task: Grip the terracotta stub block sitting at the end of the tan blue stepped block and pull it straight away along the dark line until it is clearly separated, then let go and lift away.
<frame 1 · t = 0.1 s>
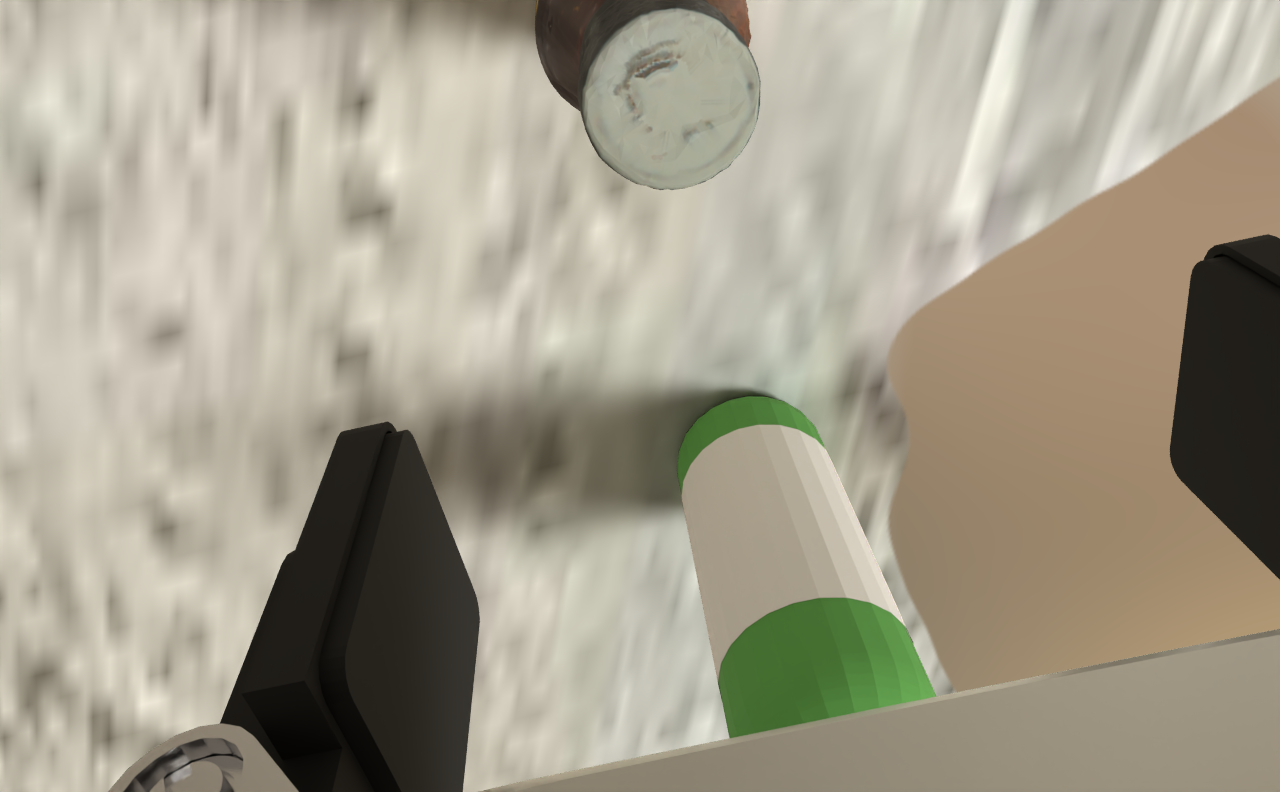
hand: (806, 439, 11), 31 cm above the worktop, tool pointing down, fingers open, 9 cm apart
wine bottle: (745, 447, 49), on the worktop
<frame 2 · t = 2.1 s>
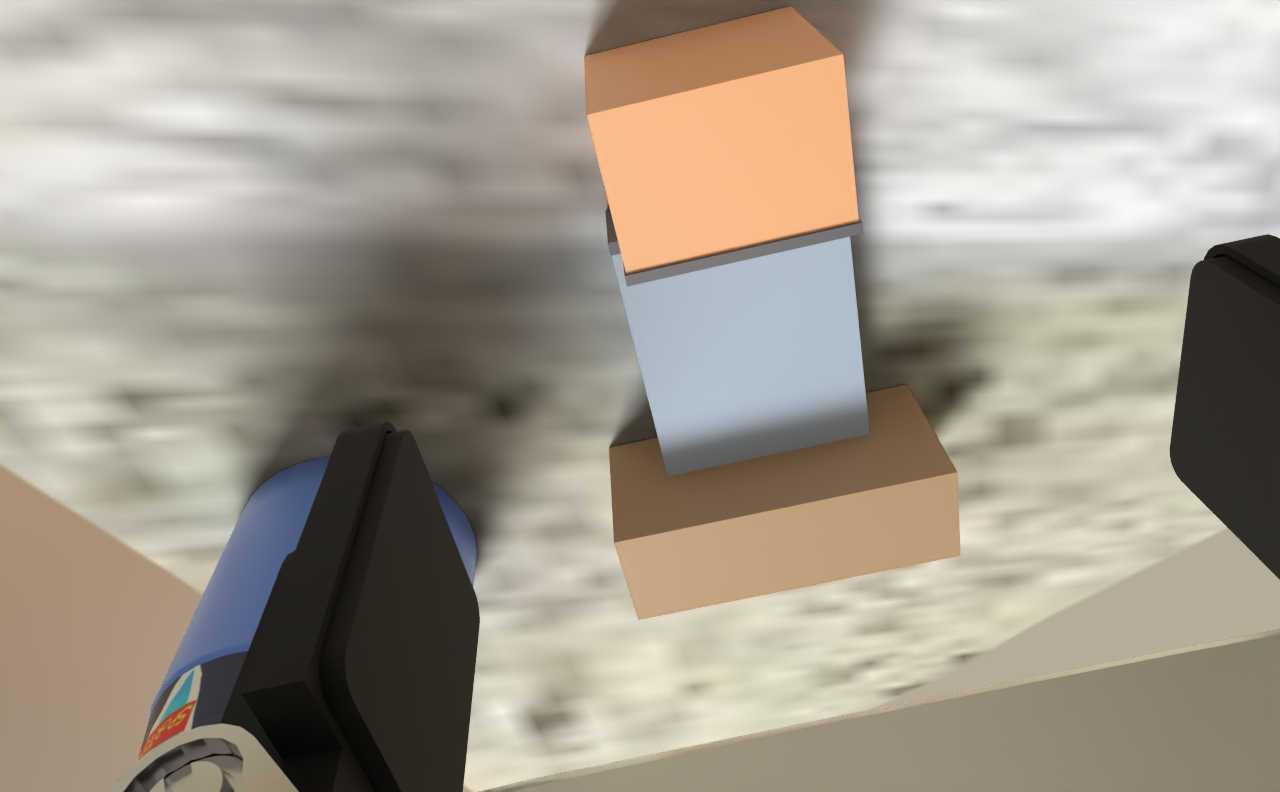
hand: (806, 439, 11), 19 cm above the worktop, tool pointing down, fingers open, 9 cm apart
stub: (713, 139, 25), point 3 cm above the worktop, slide at 0.0 cm
tan blue stepped block: (745, 353, 32), on the worktop
water bottle: (360, 546, 36), on the worktop
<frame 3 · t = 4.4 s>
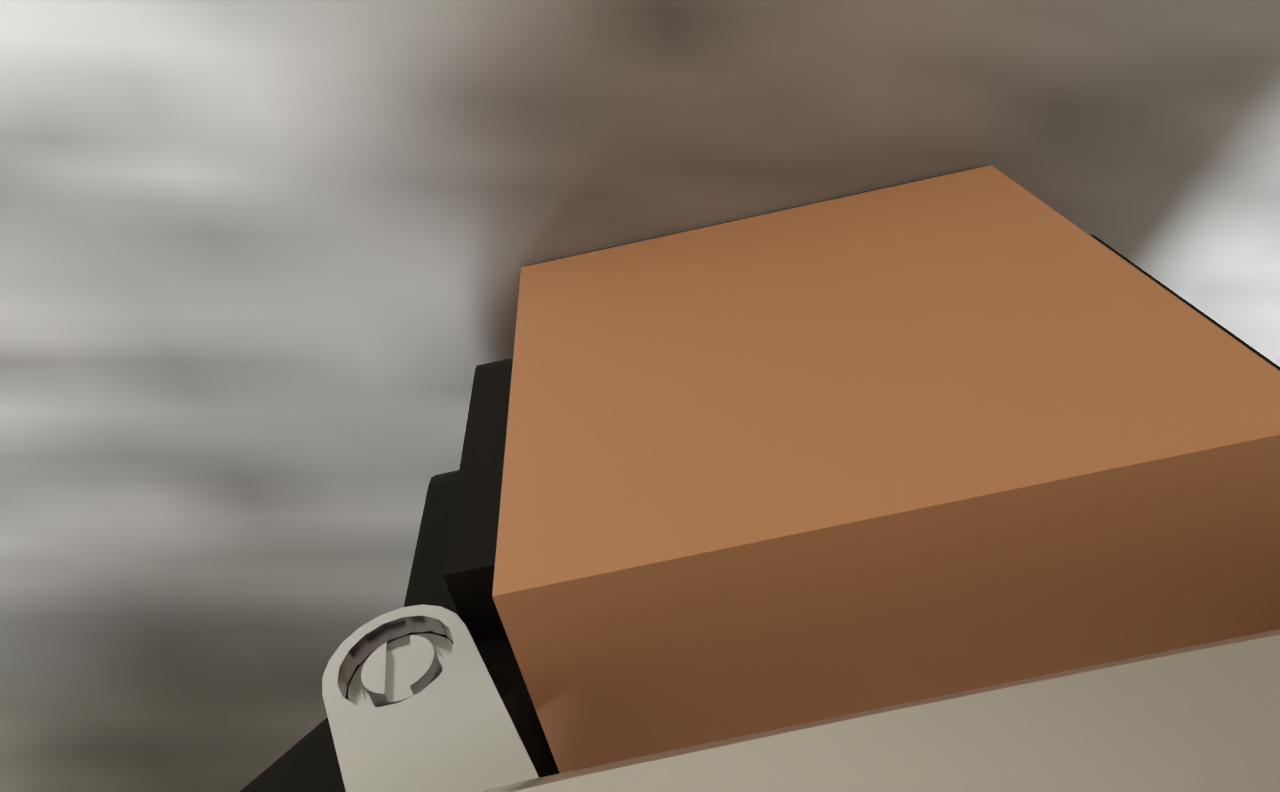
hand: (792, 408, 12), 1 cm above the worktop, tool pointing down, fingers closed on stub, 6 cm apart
stub: (832, 502, 10), point 3 cm above the worktop, slide at 0.0 cm, touching gripper
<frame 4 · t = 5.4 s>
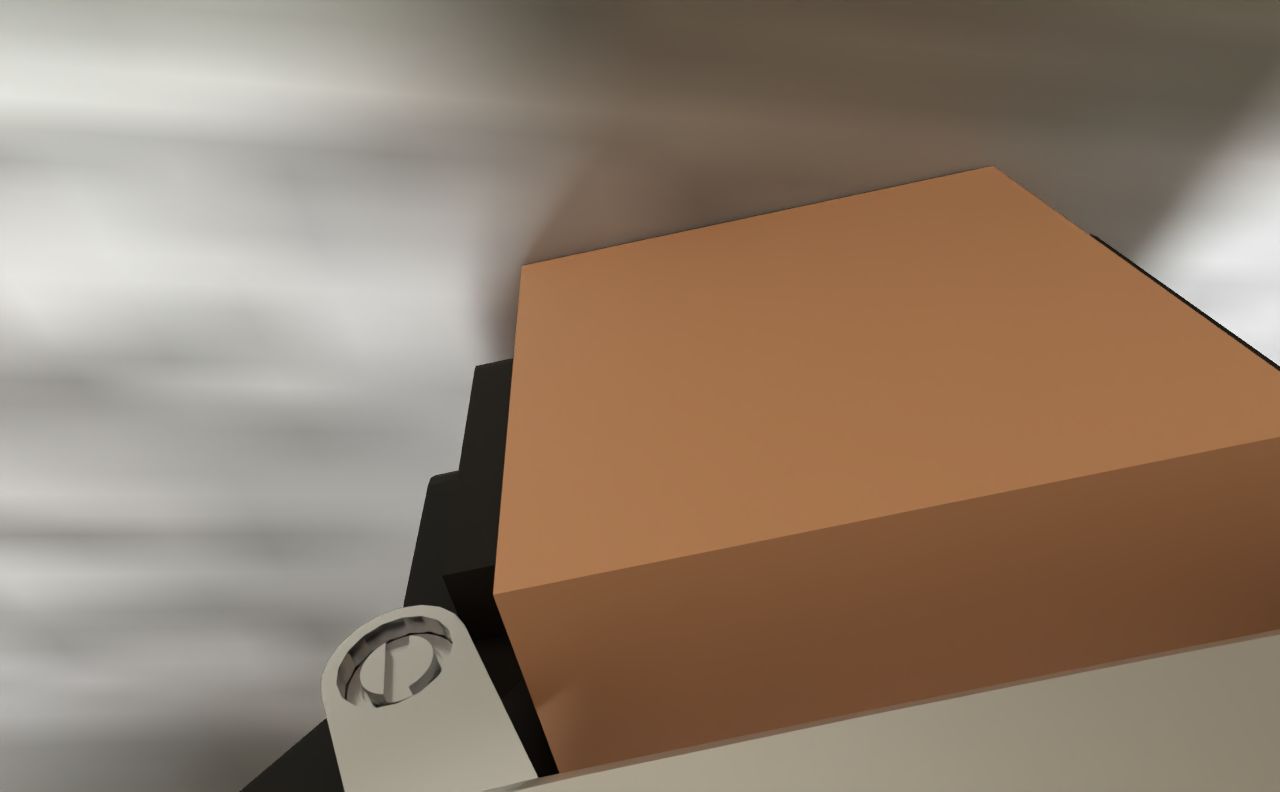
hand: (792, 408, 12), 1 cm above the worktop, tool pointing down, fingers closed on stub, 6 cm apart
stub: (832, 502, 10), point 3 cm above the worktop, slide at 3.0 cm, touching gripper
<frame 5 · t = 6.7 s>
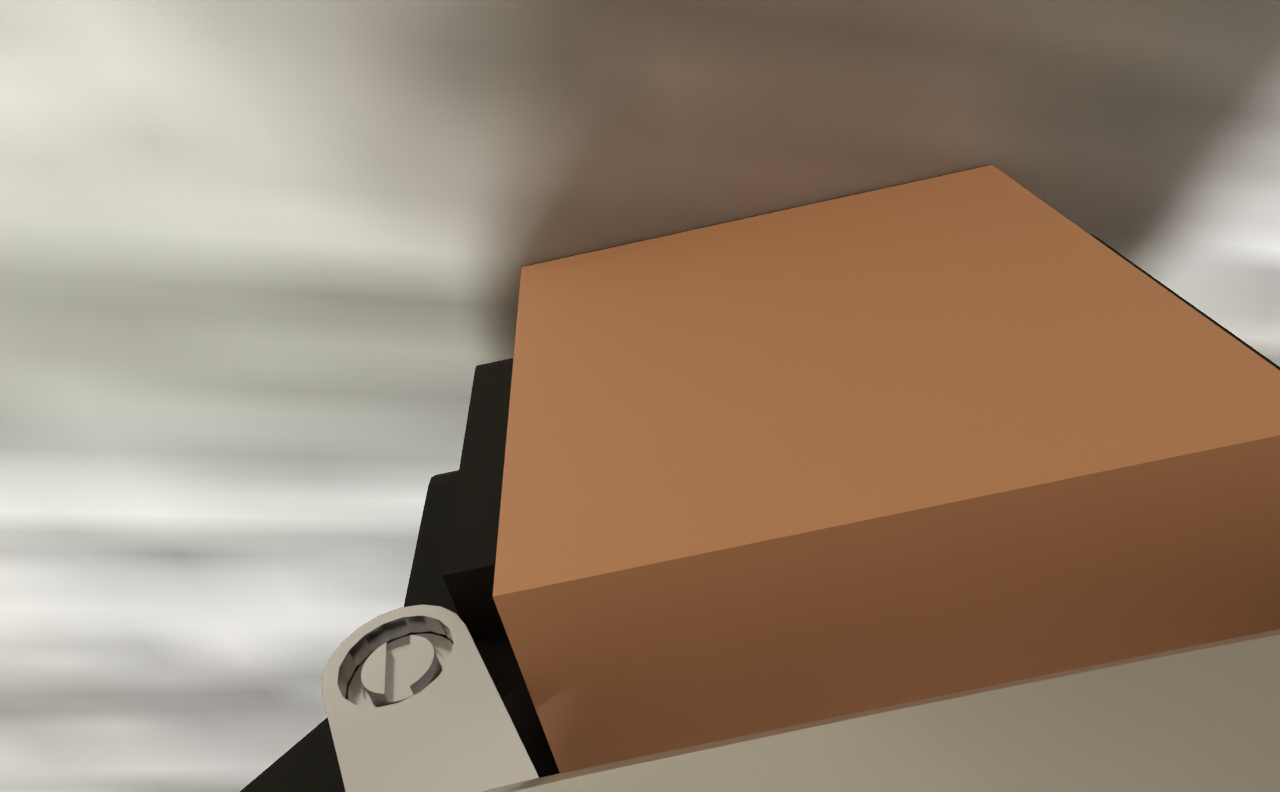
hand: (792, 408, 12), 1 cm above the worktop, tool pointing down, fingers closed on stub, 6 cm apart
stub: (833, 502, 10), point 3 cm above the worktop, slide at 9.0 cm, touching gripper
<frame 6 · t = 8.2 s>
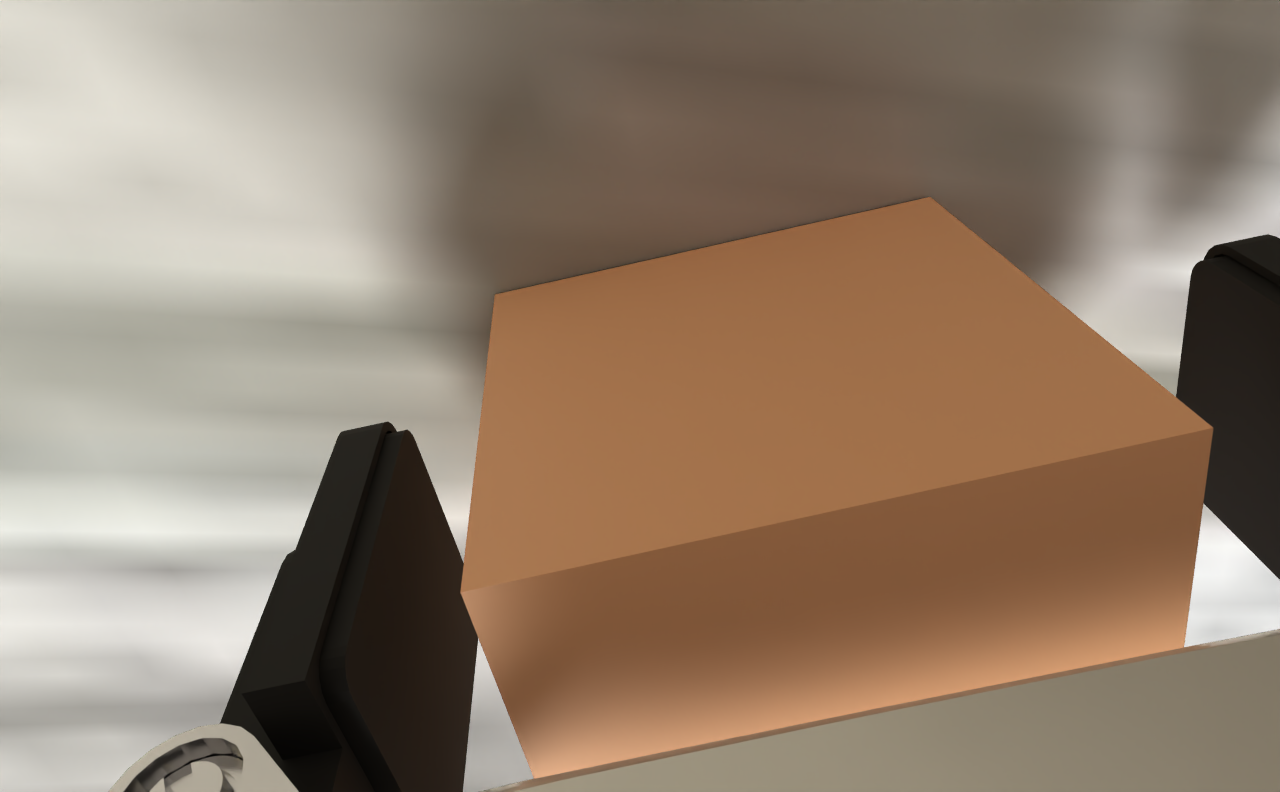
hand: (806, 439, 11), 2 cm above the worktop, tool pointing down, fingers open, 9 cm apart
stub: (782, 510, 11), point 3 cm above the worktop, slide at 9.0 cm
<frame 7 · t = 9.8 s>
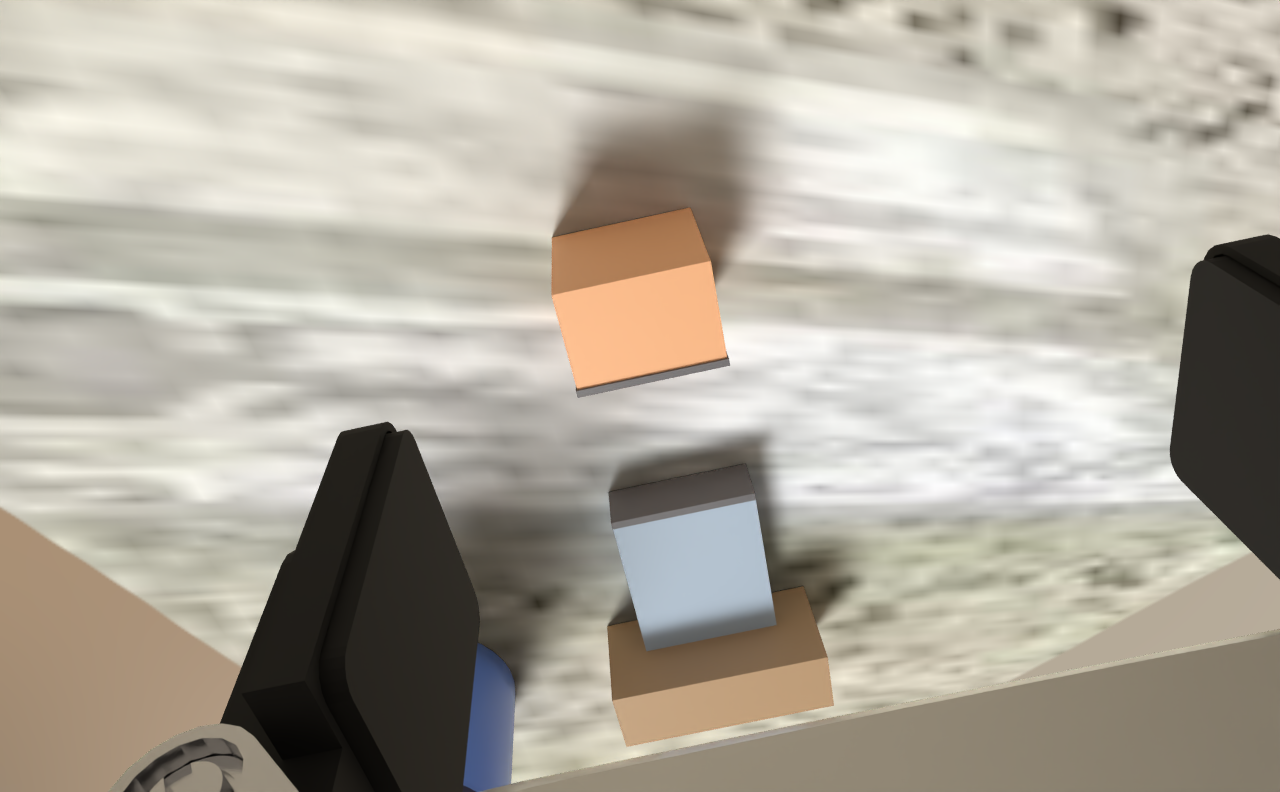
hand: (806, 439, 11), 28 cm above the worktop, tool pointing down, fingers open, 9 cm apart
stub: (636, 298, 38), point 3 cm above the worktop, slide at 9.0 cm
tan blue stepped block: (697, 569, 49), on the worktop
water bottle: (435, 688, 52), on the worktop
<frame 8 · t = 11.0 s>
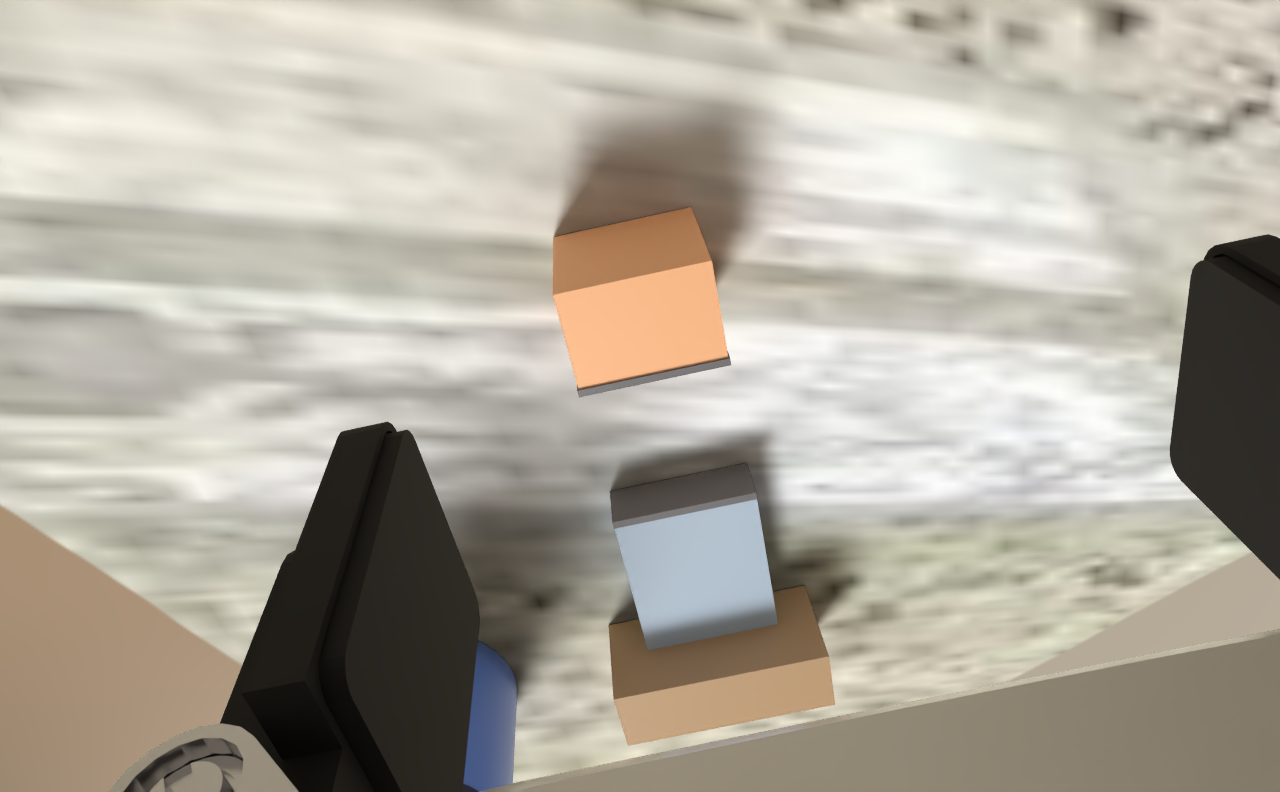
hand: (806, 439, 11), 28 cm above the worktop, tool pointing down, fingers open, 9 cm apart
stub: (637, 298, 38), point 3 cm above the worktop, slide at 9.0 cm
tan blue stepped block: (698, 569, 49), on the worktop
water bottle: (437, 687, 53), on the worktop
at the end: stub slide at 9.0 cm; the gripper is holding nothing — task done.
